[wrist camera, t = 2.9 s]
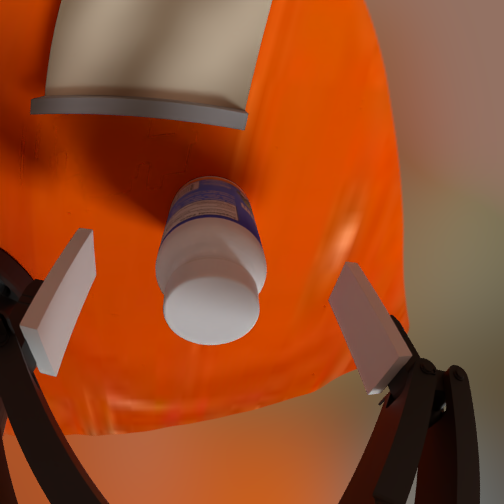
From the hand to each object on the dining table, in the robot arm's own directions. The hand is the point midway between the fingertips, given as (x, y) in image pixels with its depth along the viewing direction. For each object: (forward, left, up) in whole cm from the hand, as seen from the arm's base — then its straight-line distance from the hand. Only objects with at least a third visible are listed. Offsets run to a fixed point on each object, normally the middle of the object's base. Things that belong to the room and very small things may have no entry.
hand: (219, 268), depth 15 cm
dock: (-5, +12, -6) cm, 15 cm away
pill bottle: (0, 0, -7) cm, 7 cm away
